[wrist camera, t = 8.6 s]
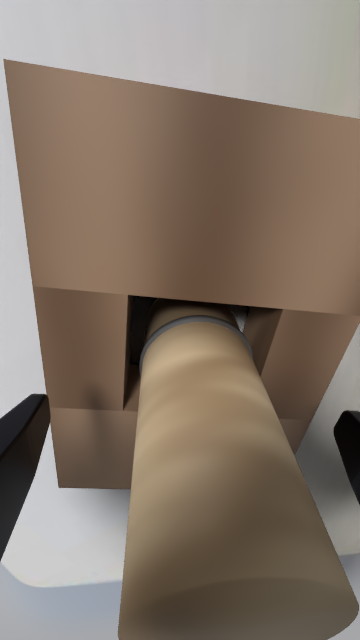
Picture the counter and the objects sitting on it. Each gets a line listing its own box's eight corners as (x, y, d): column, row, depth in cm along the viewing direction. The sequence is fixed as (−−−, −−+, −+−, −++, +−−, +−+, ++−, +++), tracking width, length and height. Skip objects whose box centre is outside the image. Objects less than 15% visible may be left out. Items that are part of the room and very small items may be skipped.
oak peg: (244, 287, 13) (416, 573, 4) (225, 364, 15) (312, 661, 6) (147, 277, 12) (113, 575, 4) (141, 358, 14) (110, 670, 6)
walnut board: (378, 138, 10) (452, 134, 8) (259, 443, 18) (276, 492, 15) (48, 84, 9) (3, 59, 6) (74, 435, 17) (58, 487, 14)
